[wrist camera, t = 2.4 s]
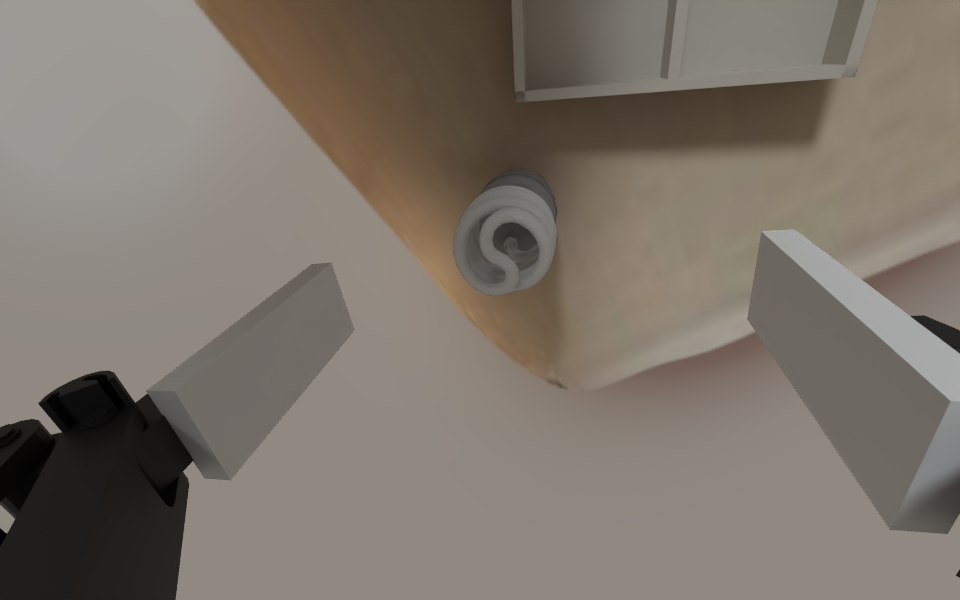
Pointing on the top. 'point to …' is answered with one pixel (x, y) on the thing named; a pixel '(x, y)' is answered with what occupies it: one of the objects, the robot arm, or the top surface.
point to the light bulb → (507, 234)
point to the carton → (681, 44)
